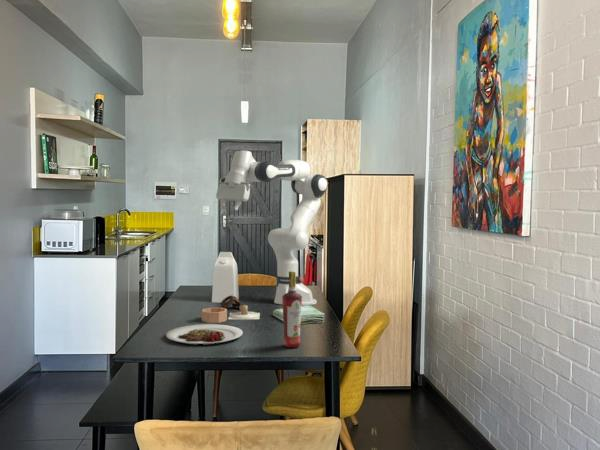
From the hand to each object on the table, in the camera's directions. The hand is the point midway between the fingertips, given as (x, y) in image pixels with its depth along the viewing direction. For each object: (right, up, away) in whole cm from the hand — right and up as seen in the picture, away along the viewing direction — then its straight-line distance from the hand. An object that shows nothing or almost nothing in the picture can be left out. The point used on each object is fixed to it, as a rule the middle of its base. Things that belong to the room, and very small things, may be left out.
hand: (228, 209), depth 268 cm
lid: (+8, -50, -7) cm, 51 cm away
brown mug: (0, -50, +9) cm, 50 cm away
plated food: (-4, -52, -44) cm, 68 cm away
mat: (+8, -50, -7) cm, 51 cm away
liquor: (+31, -53, -57) cm, 84 cm away
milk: (-6, -48, +34) cm, 59 cm away
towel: (+33, -51, -11) cm, 62 cm away
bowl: (-4, -50, -16) cm, 53 cm away
